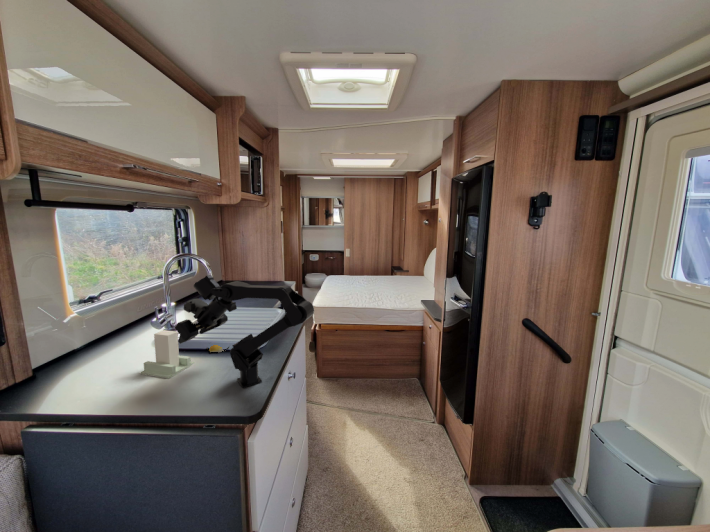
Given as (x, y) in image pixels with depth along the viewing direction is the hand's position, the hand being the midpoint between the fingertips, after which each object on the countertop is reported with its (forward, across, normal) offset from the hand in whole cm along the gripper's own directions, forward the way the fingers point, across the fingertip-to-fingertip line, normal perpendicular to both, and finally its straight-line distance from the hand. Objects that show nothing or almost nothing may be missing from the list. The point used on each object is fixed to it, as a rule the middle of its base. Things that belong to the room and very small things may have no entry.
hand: (190, 337), depth 98 cm
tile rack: (+17, 0, +2) cm, 17 cm away
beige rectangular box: (+16, 0, +1) cm, 16 cm away
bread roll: (+13, -20, +6) cm, 25 cm away
